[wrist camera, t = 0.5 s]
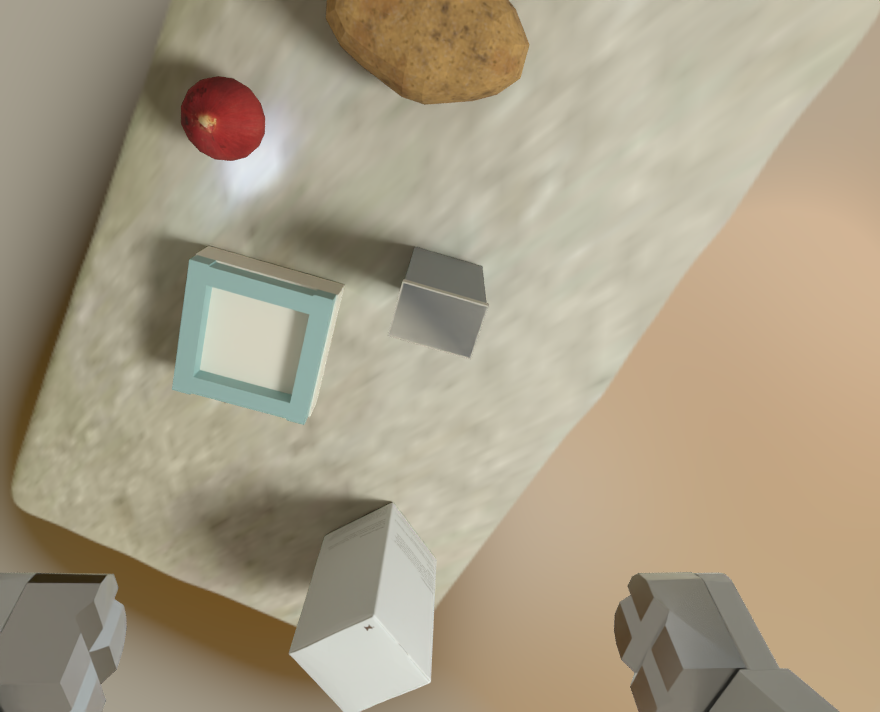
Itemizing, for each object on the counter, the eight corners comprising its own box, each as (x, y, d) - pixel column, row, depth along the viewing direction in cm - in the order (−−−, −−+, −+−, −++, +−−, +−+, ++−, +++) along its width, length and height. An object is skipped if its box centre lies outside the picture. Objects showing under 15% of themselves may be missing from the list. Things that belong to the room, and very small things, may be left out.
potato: (492, 133, 49) (497, 141, 42) (323, 60, 48) (298, 54, 40) (546, 3, 46) (562, -14, 38) (365, -82, 44) (346, -117, 37)
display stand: (208, 245, 53) (187, 258, 49) (344, 284, 54) (335, 300, 50) (191, 367, 58) (170, 389, 54) (316, 401, 59) (305, 425, 55)
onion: (203, 149, 50) (159, 159, 43) (203, 72, 48) (156, 68, 41) (275, 160, 51) (243, 172, 43) (278, 83, 48) (245, 82, 41)
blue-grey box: (414, 245, 53) (402, 281, 43) (483, 265, 53) (488, 306, 43) (401, 290, 55) (387, 335, 44) (469, 310, 55) (470, 359, 45)
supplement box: (321, 534, 65) (283, 653, 51) (393, 499, 63) (373, 613, 49) (369, 593, 68) (345, 720, 54) (439, 561, 66) (433, 685, 52)
